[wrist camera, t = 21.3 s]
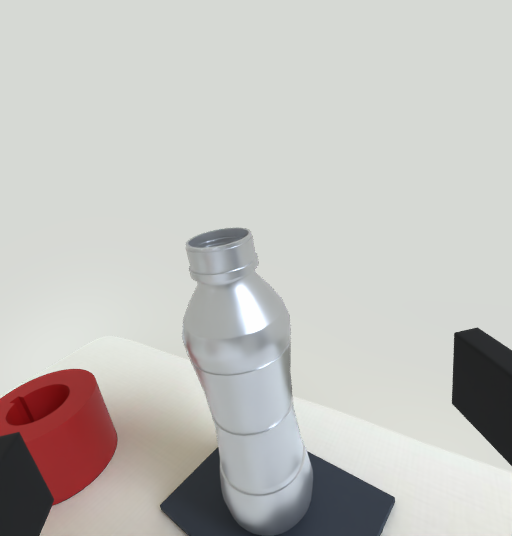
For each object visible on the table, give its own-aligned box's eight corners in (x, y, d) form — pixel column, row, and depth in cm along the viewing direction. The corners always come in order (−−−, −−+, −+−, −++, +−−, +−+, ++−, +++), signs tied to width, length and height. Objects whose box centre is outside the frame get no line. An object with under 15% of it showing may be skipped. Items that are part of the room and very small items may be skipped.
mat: (395, 502, 25) (395, 497, 24) (322, 664, 18) (321, 658, 18) (246, 422, 34) (246, 418, 33) (161, 509, 27) (159, 505, 27)
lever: (137, 427, 35) (117, 372, 33) (63, 521, 27) (30, 457, 25) (12, 407, 42) (-12, 360, 39) (-79, 479, 33) (-115, 425, 31)
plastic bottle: (225, 559, 22) (141, 269, 16) (229, 466, 29) (171, 231, 22) (325, 545, 22) (285, 246, 15) (308, 455, 29) (273, 214, 22)
